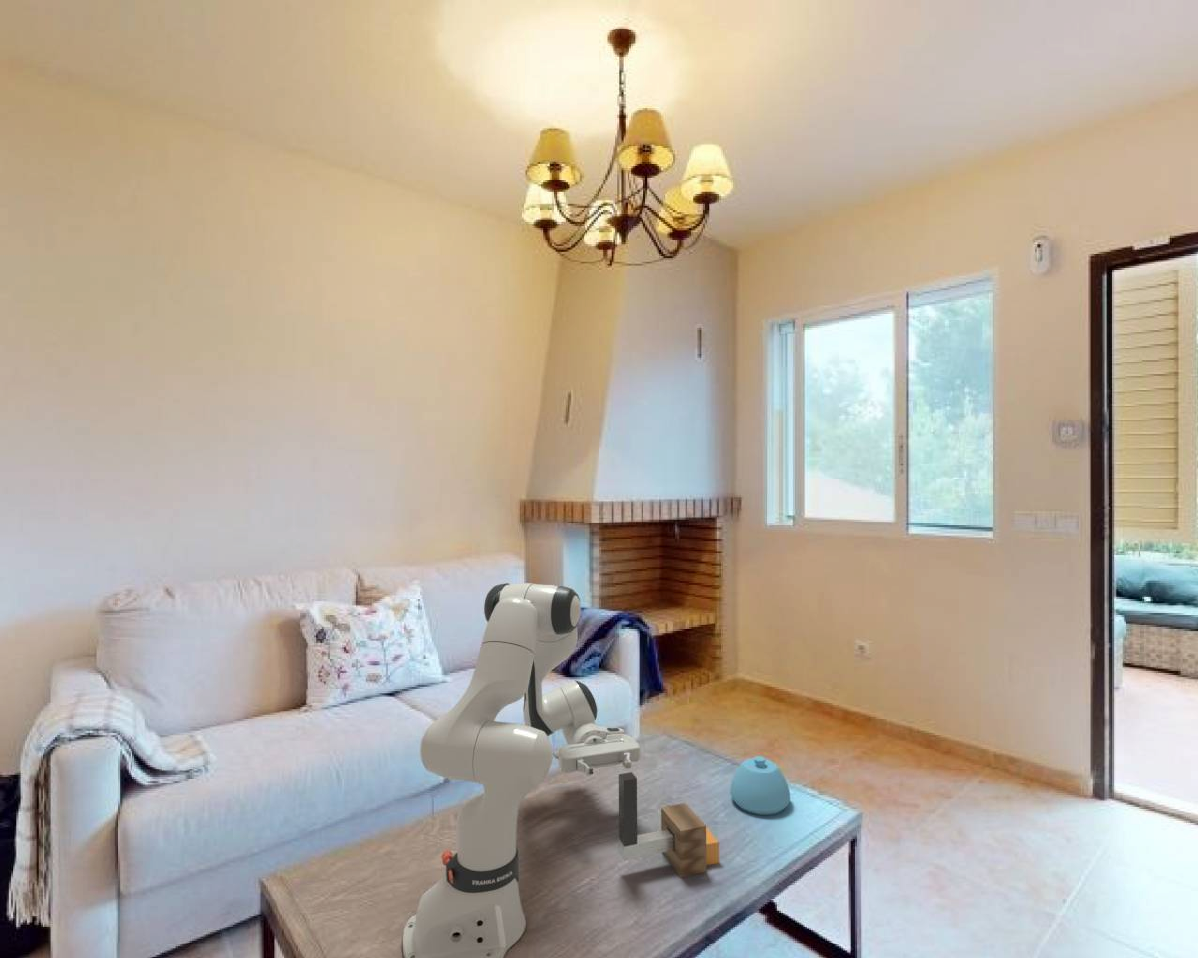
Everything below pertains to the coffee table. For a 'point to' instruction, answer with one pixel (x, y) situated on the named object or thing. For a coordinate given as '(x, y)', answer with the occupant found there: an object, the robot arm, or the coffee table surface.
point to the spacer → (711, 848)
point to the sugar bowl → (760, 787)
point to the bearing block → (685, 839)
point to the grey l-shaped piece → (628, 837)
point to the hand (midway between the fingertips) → (609, 768)
